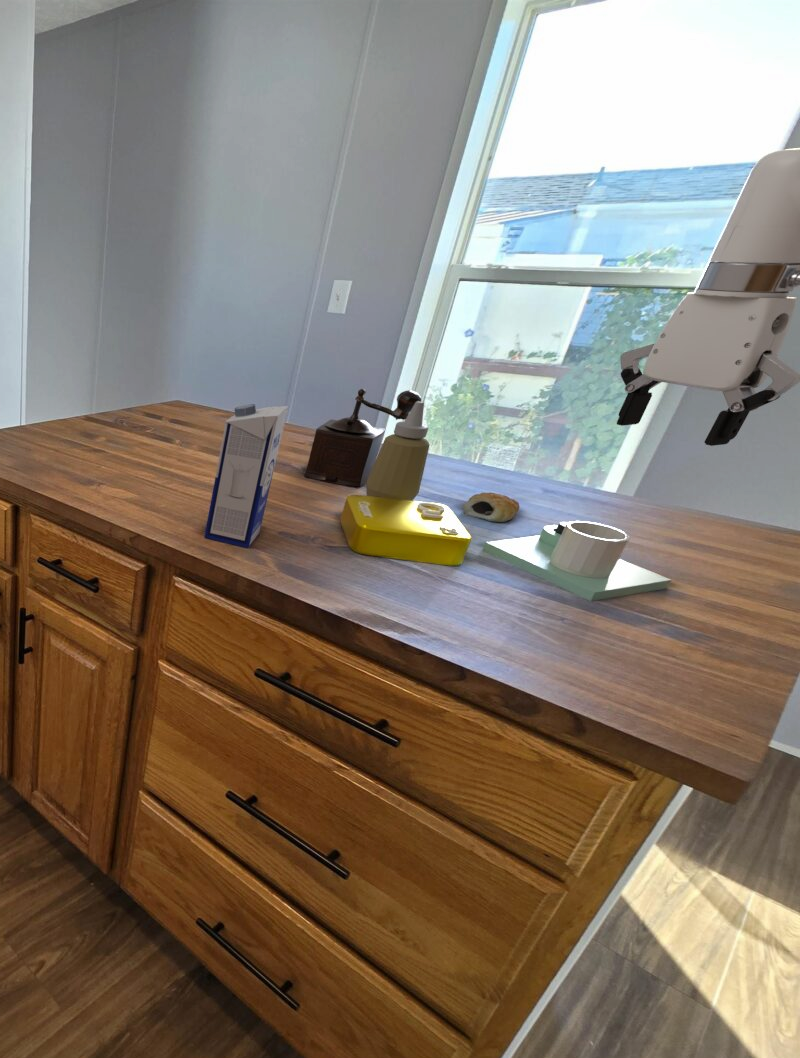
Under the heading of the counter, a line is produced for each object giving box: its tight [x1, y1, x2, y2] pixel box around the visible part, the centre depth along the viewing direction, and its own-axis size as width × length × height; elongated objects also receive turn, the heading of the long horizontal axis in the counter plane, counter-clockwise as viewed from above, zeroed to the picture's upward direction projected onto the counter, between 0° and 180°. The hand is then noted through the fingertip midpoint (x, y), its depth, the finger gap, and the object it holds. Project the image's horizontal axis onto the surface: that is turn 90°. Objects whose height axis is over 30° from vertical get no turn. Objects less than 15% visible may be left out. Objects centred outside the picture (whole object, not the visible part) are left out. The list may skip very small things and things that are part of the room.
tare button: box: [555, 521, 570, 534], centre depth 97 cm, size 3×3×2 cm
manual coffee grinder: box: [304, 388, 422, 488], centre depth 122 cm, size 16×11×18 cm
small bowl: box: [550, 520, 631, 578], centre depth 90 cm, size 7×7×6 cm
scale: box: [481, 524, 673, 602], centre depth 93 cm, size 16×14×3 cm
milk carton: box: [204, 403, 289, 549], centre depth 97 cm, size 7×7×20 cm
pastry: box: [461, 491, 520, 523], centre depth 110 cm, size 9×7×4 cm
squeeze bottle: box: [365, 401, 430, 501], centre depth 109 cm, size 8×8×18 cm
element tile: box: [340, 494, 473, 567], centre depth 100 cm, size 15×15×5 cm
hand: (669, 433), depth 81 cm, fingers open, 9 cm apart
